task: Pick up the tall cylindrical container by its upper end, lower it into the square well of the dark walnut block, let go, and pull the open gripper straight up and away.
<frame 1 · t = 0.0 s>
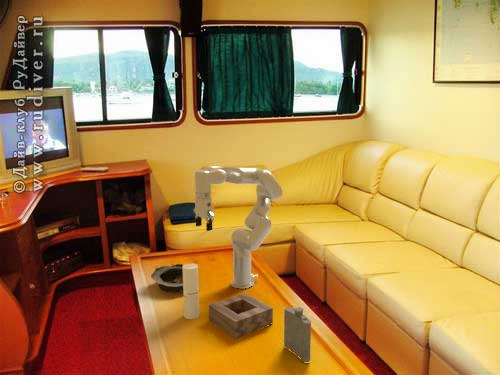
hand: (204, 228, 251), 37 cm above the table, tool pointing down, fingers open, 9 cm apart
hip flask: (297, 354, 205), on the table
cylindrical container: (191, 316, 238), on the table
walnut well block: (240, 322, 231), on the table
stone bowl: (176, 287, 271), on the table
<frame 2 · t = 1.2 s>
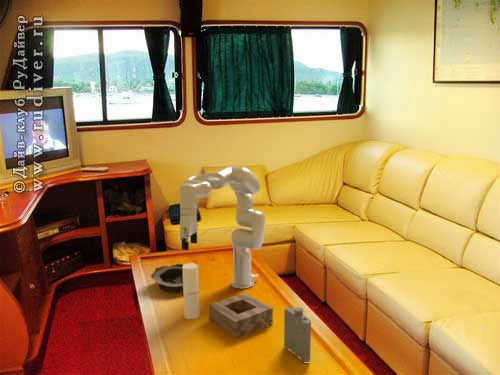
hand: (189, 246, 231), 35 cm above the table, tool pointing down, fingers open, 9 cm apart
nothing on the table moved.
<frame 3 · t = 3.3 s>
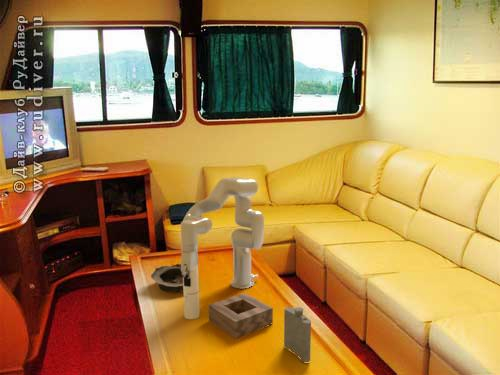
hand: (190, 282, 234), 17 cm above the table, tool pointing down, fingers closed on cylindrical container, 7 cm apart
cylindrical container: (191, 316, 238), on the table, touching gripper
everything else where it was.
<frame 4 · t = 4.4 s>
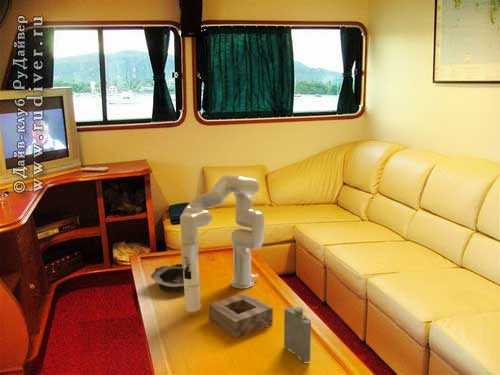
hand: (191, 275, 234), 20 cm above the table, tool pointing down, fingers closed on cylindrical container, 7 cm apart
cylindrical container: (192, 308, 238), point 3 cm above the table, touching gripper
everything else where it was.
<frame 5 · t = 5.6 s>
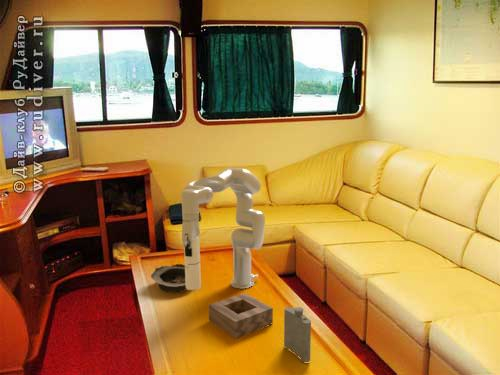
hand: (192, 253, 231), 31 cm above the table, tool pointing down, fingers closed on cylindrical container, 7 cm apart
cylindrical container: (193, 287, 235), point 14 cm above the table, touching gripper
everything else where it was.
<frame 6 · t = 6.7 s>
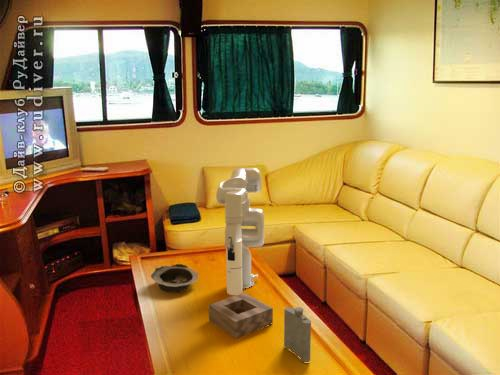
hand: (234, 257, 225), 32 cm above the table, tool pointing down, fingers closed on cylindrical container, 7 cm apart
cylindrical container: (234, 292, 229), point 15 cm above the table, touching gripper
everything else where it was.
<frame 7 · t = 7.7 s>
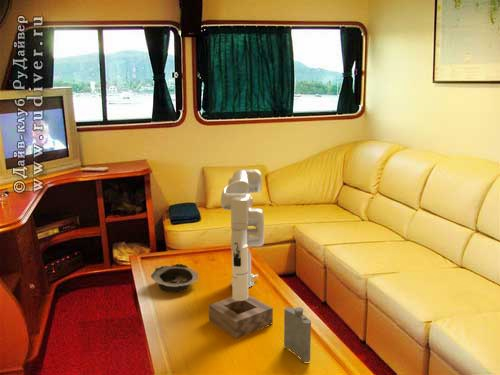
hand: (240, 262, 225), 29 cm above the table, tool pointing down, fingers closed on cylindrical container, 7 cm apart
cylindrical container: (240, 297, 228), point 12 cm above the table, touching gripper
everything else where it was.
when the fingers open (19 cm above the table, at t = 9.9 s): cylindrical container drops 1 cm, resting on walnut well block.
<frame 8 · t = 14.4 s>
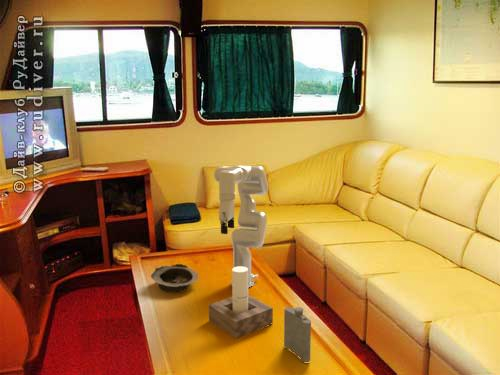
hand: (227, 230, 242), 38 cm above the table, tool pointing down, fingers open, 9 cm apart
cylindrical container: (240, 320, 231), point 1 cm above the table, touching walnut well block
everything else where it was.
at the end: cylindrical container 0.3 cm off-centre on the walnut well block, point 0.8 cm above the walnut well block's base; cylindrical container tilted 0°; the gripper is holding nothing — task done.
